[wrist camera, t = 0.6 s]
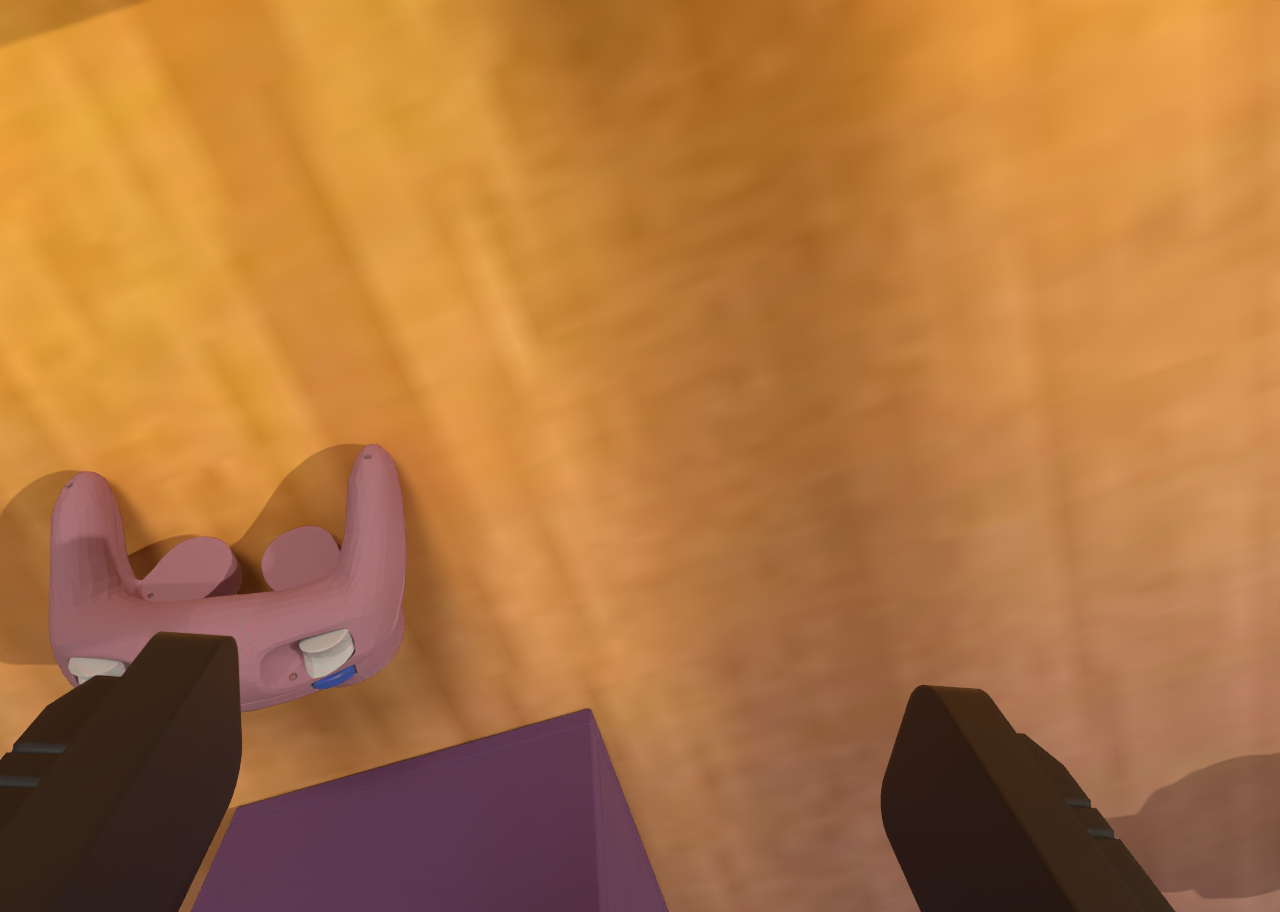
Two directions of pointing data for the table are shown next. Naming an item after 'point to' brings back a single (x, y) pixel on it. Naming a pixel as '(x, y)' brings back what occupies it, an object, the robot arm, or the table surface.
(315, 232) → the table surface
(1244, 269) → the table surface
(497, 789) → the box
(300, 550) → the video game controller
